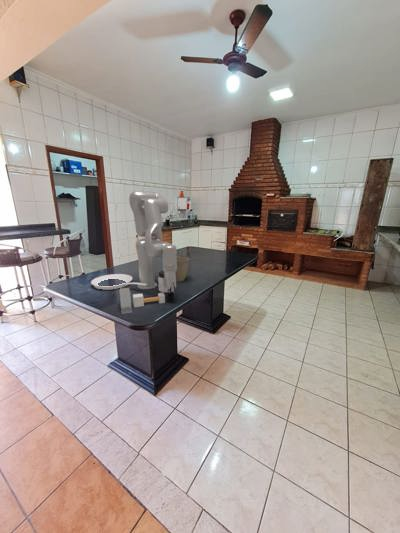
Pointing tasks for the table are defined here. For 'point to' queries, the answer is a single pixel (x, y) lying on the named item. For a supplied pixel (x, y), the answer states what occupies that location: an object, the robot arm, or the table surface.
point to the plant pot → (181, 268)
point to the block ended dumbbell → (147, 299)
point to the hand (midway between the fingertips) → (170, 298)
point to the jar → (161, 282)
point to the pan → (114, 276)
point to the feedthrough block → (125, 300)
